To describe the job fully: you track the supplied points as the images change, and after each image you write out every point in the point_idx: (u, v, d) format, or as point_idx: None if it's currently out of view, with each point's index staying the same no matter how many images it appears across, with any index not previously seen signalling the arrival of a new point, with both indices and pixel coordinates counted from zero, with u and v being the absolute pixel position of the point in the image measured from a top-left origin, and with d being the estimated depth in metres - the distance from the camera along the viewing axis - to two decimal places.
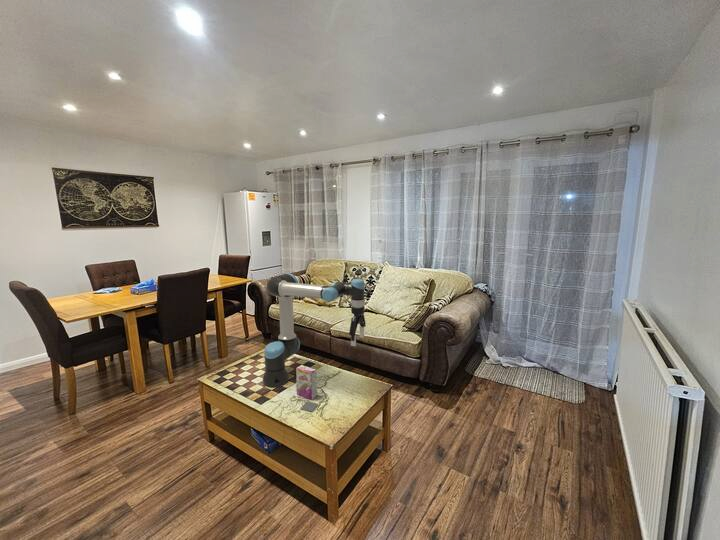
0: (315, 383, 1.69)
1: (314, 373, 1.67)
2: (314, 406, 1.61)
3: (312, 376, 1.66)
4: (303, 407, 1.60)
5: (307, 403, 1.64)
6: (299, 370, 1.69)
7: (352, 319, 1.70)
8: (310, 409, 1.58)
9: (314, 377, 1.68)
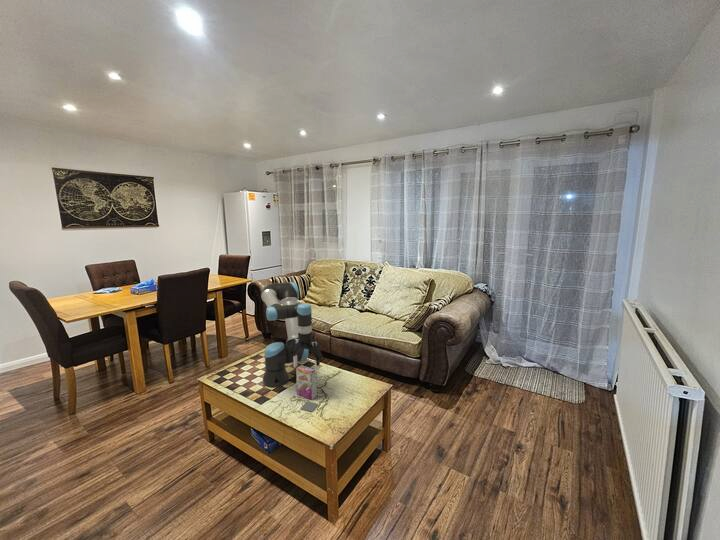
0: (315, 383, 1.69)
1: (314, 373, 1.67)
2: (314, 406, 1.61)
3: (312, 376, 1.66)
4: (303, 407, 1.60)
5: (307, 403, 1.64)
6: (299, 370, 1.69)
7: None
8: (310, 409, 1.58)
9: (314, 377, 1.68)
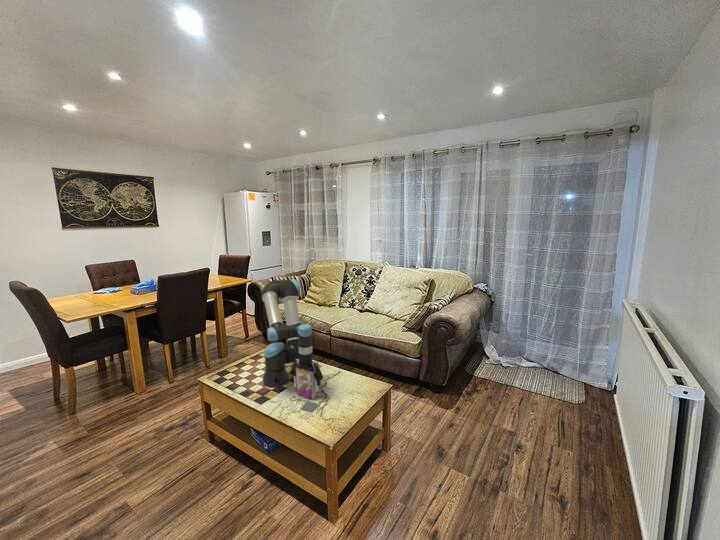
0: None
1: None
2: (314, 406, 1.61)
3: (312, 376, 1.66)
4: (303, 407, 1.60)
5: (307, 403, 1.64)
6: (299, 370, 1.69)
7: None
8: (310, 409, 1.58)
9: (314, 377, 1.68)
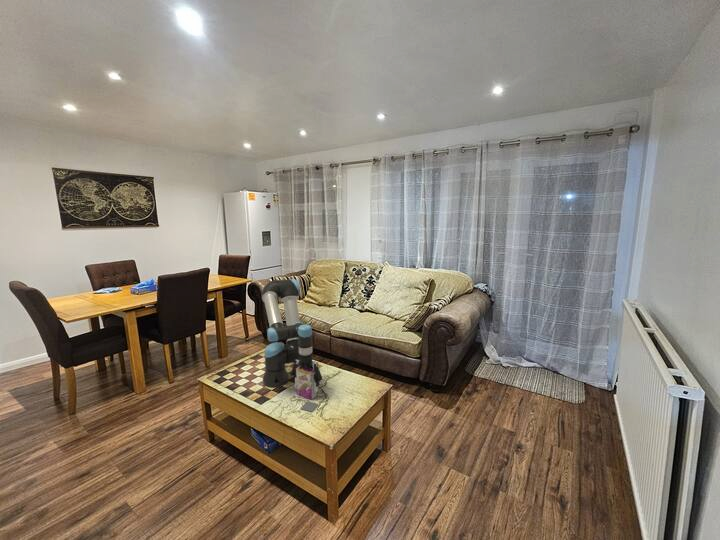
0: None
1: (314, 373, 1.67)
2: (314, 406, 1.61)
3: (311, 376, 1.66)
4: (303, 407, 1.60)
5: (307, 403, 1.64)
6: (299, 370, 1.69)
7: None
8: (310, 409, 1.58)
9: None
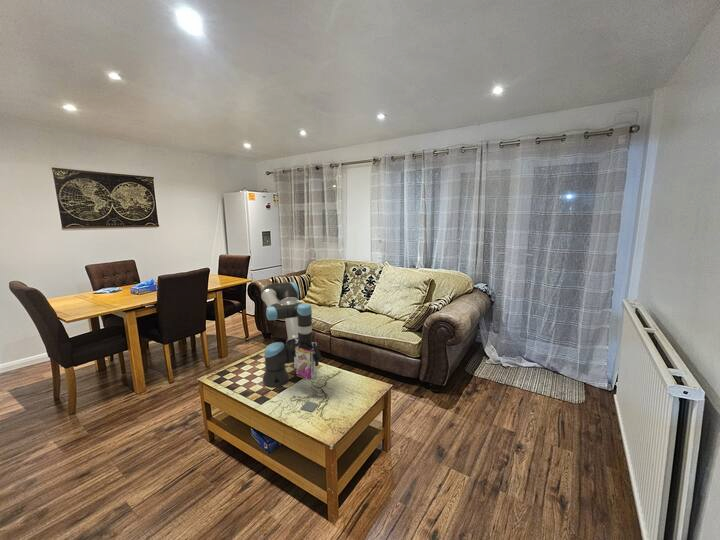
0: None
1: (313, 352, 1.66)
2: (314, 406, 1.61)
3: (311, 355, 1.64)
4: (303, 407, 1.60)
5: (307, 403, 1.64)
6: (298, 349, 1.67)
7: None
8: (310, 409, 1.58)
9: None
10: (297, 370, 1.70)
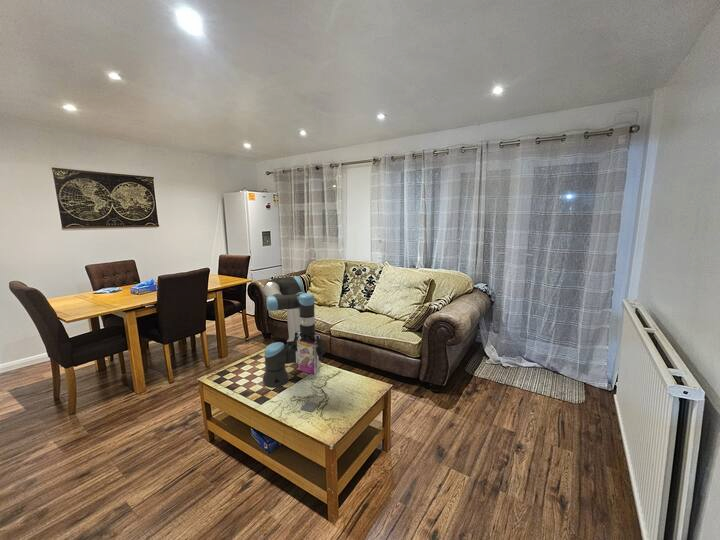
0: None
1: (316, 346, 1.53)
2: (314, 406, 1.61)
3: (314, 349, 1.52)
4: (303, 407, 1.60)
5: (307, 403, 1.64)
6: (300, 343, 1.55)
7: None
8: (310, 409, 1.58)
9: None
10: (299, 365, 1.58)
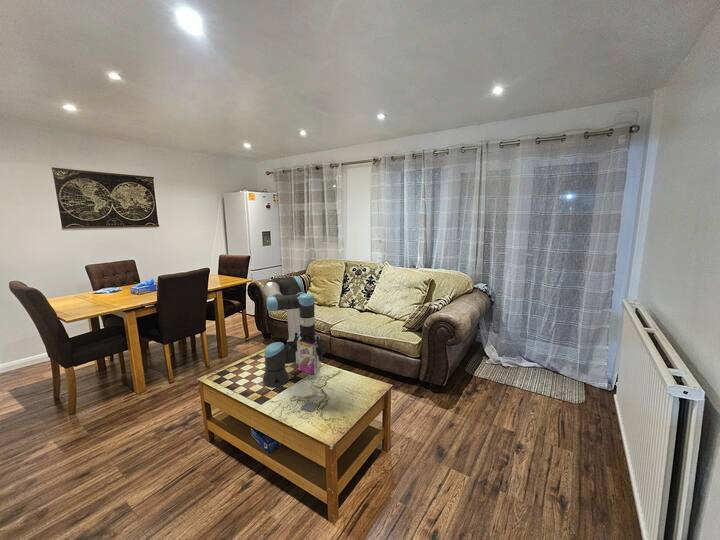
0: None
1: (317, 346, 1.53)
2: (314, 406, 1.61)
3: (314, 349, 1.52)
4: (303, 407, 1.60)
5: (307, 403, 1.64)
6: (300, 343, 1.55)
7: None
8: (310, 409, 1.58)
9: None
10: (299, 365, 1.58)
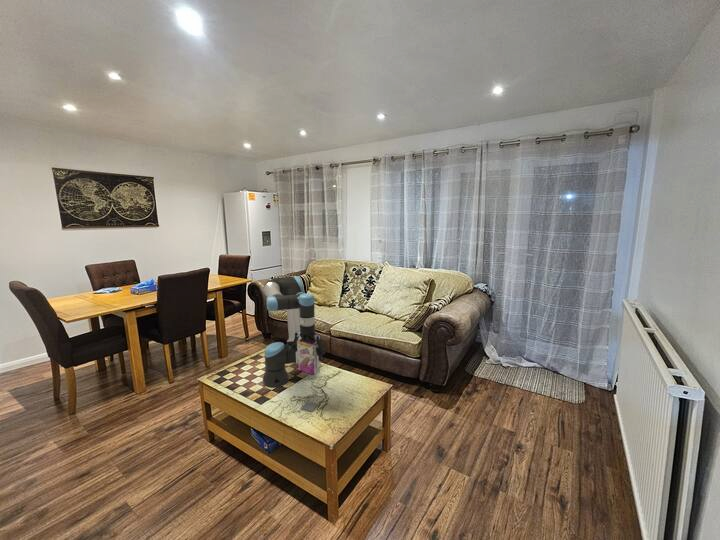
0: None
1: (317, 346, 1.53)
2: (314, 406, 1.61)
3: (314, 349, 1.52)
4: (303, 407, 1.60)
5: (307, 403, 1.64)
6: (300, 343, 1.55)
7: None
8: (310, 409, 1.58)
9: None
10: (299, 365, 1.58)
